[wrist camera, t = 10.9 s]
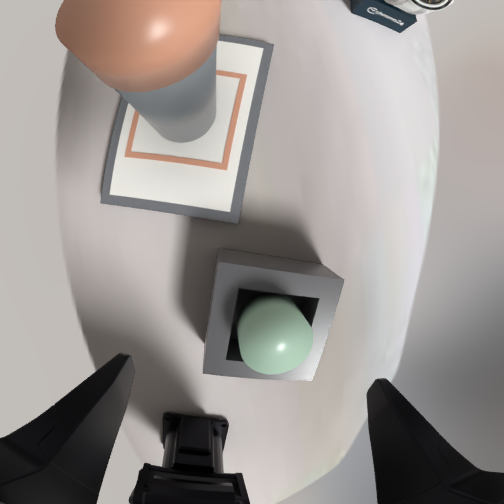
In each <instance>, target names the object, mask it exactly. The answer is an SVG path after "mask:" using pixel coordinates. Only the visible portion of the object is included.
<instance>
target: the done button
mask: <svg viewBox="0 0 504 504" xmlns="http://www.w3.org/2000/svg"><path fill="white" fill-rule="evenodd" d="M236 327H237V334H238V341H239V348H240V353H241V356H242V359H243V360H244V362H245V363H246V364H247V365H248V366H249V367H250V368H251V369H253V370H255V371H257V372H260V373H263V374H281V373H285V372H288V371H290V370H292V369H294V368H296V367H297V366H299V365H300V364H301V363H302V362H303V361H304V360H305V359H306V358H307V356H308V355H309V353H310V351H311V349H312V346H313V331H312V329H311V327H310V325H309V323H308V322H307V320H306V319H305V317H304V316H303V314H302V313H301V311H300V310H299V308H298V307H297V305H296V304H295V303H294V302H293V301H292V300H291V299H290V298H289V297H287V296H285V295H283V294H279V293H263V294H260V295H257V296H255V297H253V298H251V299H250V300H248V301H247V302H246V303H245V304H244V305H243V306H242V308H241V309H240V311H239V313H238V316H237V321H236Z"/></svg>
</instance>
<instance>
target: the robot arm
mask: <svg viewBox="0 0 504 504" xmlns="http://www.w3.org/2000/svg"><path fill="white" fill-rule="evenodd" d="M134 374H135V369H134V365H133V361H132V358H131V356H130V355H128V354H124V353H119V354H117V355H116V356H115V357H114V358H112V359H111V360H110V361H109V362H107V363H106V364H105V365H104V366H102V367H101V368H100V369H98V370H97V371H96V372H95V373H93V374H92V375H91V376H90V377H88V378H87V379H86V380H84V381H83V382H82V383H81V384H79V385H78V386H77V387H76V388H74V389H73V390H72V391H71V392H69V393H68V394H67V395H66V396H64V397H63V398H62V399H60V400H59V401H58V402H57V403H55V405H53V406H51V407H50V408H49V409H48V410H46V411H45V412H44V413H42V414H41V415H40V416H38V417H37V418H36V419H34V420H32V421H31V422H29V423H28V424H26V425H24V426H22V427H21V428H19V429H17V430H16V431H14V432H12V433H11V434H9V435H7V436H5V437H2V438H0V504H96V503H97V500H98V496H99V491H100V488H101V485H102V481H103V478H104V475H105V471H106V468H107V464H108V461H109V458H110V455H111V452H112V449H113V446H114V443H115V440H116V437H117V434H118V431H119V428H120V425H121V422H122V420H123V417H124V414H125V411H126V408H127V404H128V399H129V395H130V391H131V386H132V382H133V378H134ZM367 409H368V426H369V435H370V442H371V449H372V456H373V464H374V472H375V481H376V491H377V502H378V504H504V473H500V472H488V471H483V470H481V469H479V468H477V467H475V466H474V465H473V464H472V463H471V462H469V461H468V460H467V459H466V458H464V457H463V456H462V455H461V454H460V453H459V452H458V451H456V450H455V449H454V448H453V447H452V446H451V445H450V444H449V443H448V442H447V441H446V440H445V439H444V438H443V437H442V436H441V435H440V434H439V433H438V432H437V431H436V430H435V428H434V427H433V426H432V425H431V424H430V423H429V422H428V421H427V420H426V419H425V418H424V417H423V416H422V415H421V414H420V413H419V412H418V411H417V410H416V409H415V408H414V407H413V406H412V404H411V403H410V402H409V401H407V399H406V398H405V397H404V396H403V395H402V394H401V393H400V392H399V391H398V390H397V389H396V388H395V387H394V386H393V385H392V384H391V383H390V382H389V381H388V380H387V379H386V378H380V379H376V380H375V381H374V382H373V384H372V385H371V387H370V388H369V390H368V392H367ZM167 417H169V418H167ZM228 427H229V423H228V421H227V420H220V419H210V418H200V417H192V416H185V415H178V414H172V413H164V414H163V448H164V456H163V464H162V467H160V466H155V465H151V464H149V463H144V466H143V469H141V470H140V471H139V475H138V480H137V483H136V486H135V488H134V490H133V492H132V493H131V495H130V497H129V503H130V504H250V501H249V498H248V494H247V490H246V487H245V483H244V479H243V475H242V473H236V474H230V473H224V471H223V455H222V454H223V449H224V445H225V440H226V436H227V432H228Z"/></svg>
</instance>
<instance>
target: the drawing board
mask: <svg viewBox="0 0 504 504" xmlns="http://www.w3.org/2000/svg"><path fill="white" fill-rule="evenodd" d="M273 47H274V44H271V43H266V42H261V41H256V40H251V39H246V38H240V37H234V36H227V35H219V39H218V43H217V53H216V117H215V120H214V123H213V125H212V126H211V128H210V129H209V130H208V131H207V132H206V133H205V134H204V135H203V136H201V137H200V138H198V139H196V140H193V141H190V142H185V143H178V142H172V141H169V140H167V139H165V138H164V137H162V136H161V135H160V134H159V133H158V132H157V131H156V130H155V129H154V128H153V127H152V126H151V125H150V124H149V123H148V122H147V121H146V120H145V119H144V118H143V117H142V116H141V115H140V114H139V113H138V112H137V111H136V110H135V109H134V108H133V107H132V106H131V105H130V104H129V103H128V102H127V101H126V100H125V99H124V98H123V97H122V99H121V102H120V106H119V110H118V113H117V117H116V121H115V125H114V129H113V134H112V138H111V143H110V147H109V152H108V157H107V163H106V168H105V174H104V181H103V187H102V195H101V202H100V203H102V204H110V205H117V206H124V207H132V208H139V209H146V210H153V211H159V212H166V213H173V214H179V215H186V216H192V217H199V218H205V219H211V220H217V221H223V222H229V223H235V224H238V223H239V218H240V212H241V207H242V201H243V196H244V191H245V185H246V180H247V175H248V169H249V164H250V159H251V154H252V149H253V144H254V139H255V133H256V128H257V123H258V118H259V114H260V109H261V104H262V99H263V94H264V89H265V84H266V80H267V75H268V70H269V66H270V61H271V56H272V52H273Z"/></svg>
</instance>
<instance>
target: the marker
mask: <svg viewBox="0 0 504 504" xmlns="http://www.w3.org/2000/svg"><path fill="white" fill-rule="evenodd" d="M220 17H221V0H64V1H63V3H62V5H61V7H60V9H59V11H58V14H57V18H56V24H55V27H56V34H57V37H58V39H59V40H60V42H61V43H62V44H63V45H64V46H65V47H66V48H67V49H69V50H70V51H71V52H72V53H73V54H74V55H75V56H76V57H77V58H78V59H79V60H80V61H82V62H83V63H84V64H85V65H86V66H87V67H88V68H89V69H90V70H91V71H92V72H93V73H94V74H95V75H96V76H98V77H99V78H100V79H101V80H102V81H103V82H104V83H105V84H107V85H108V86H110V87H112V88H114V89H115V90H116V91H117V92H118V93H119V94H120V95H121V96H122V97H123V98H124V99H125V100H126V101H127V102H128V103H129V104H130V105H131V106H132V107H133V108H134V109H135V110H136V111H137V112H138V113H139V114H140V115H141V116H142V117H143V118H144V119H145V120H146V121H147V122H148V123H149V124H150V125H151V126H152V127H153V128H154V129H155V130H156V131H157V132H158V133H159V134H160V135H161V136H162V137H164V138H165V139H167V140H169V141H172V142H178V143H185V142H190V141H193V140H196V139H198V138H200V137H201V136H203V135H204V134H205V133H206V132H207V131H208V130H209V129H210V128H211V126H212V125H213V123H214V120H215V117H216V53H217V43H218V39H219V34H220Z"/></svg>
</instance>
